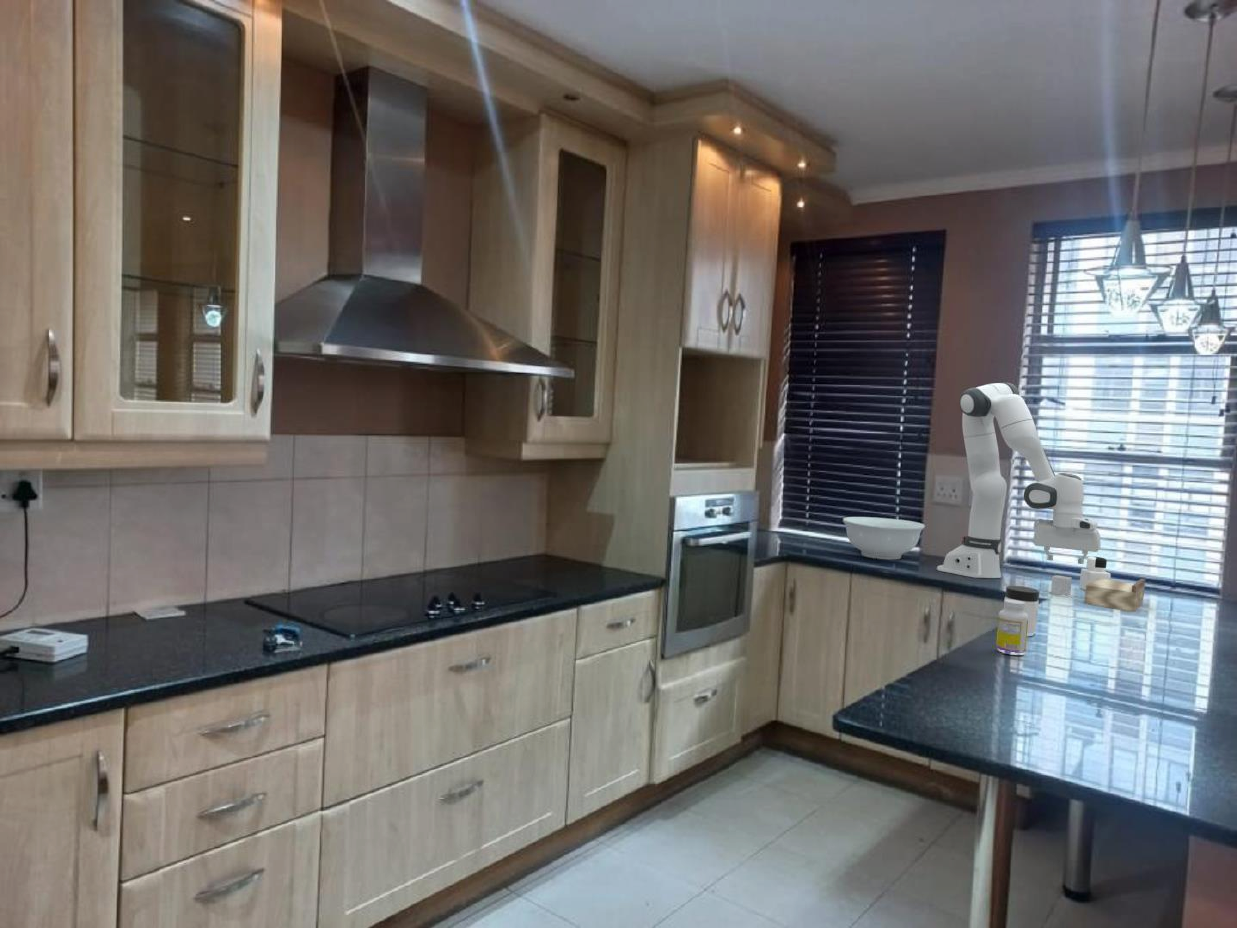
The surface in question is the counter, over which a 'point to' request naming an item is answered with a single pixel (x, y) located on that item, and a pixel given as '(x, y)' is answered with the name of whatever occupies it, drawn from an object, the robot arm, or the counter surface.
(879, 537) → the bowl
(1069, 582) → the lock block
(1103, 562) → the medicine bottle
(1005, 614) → the supplement bottle
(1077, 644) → the counter surface
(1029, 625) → the jar
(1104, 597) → the riser
